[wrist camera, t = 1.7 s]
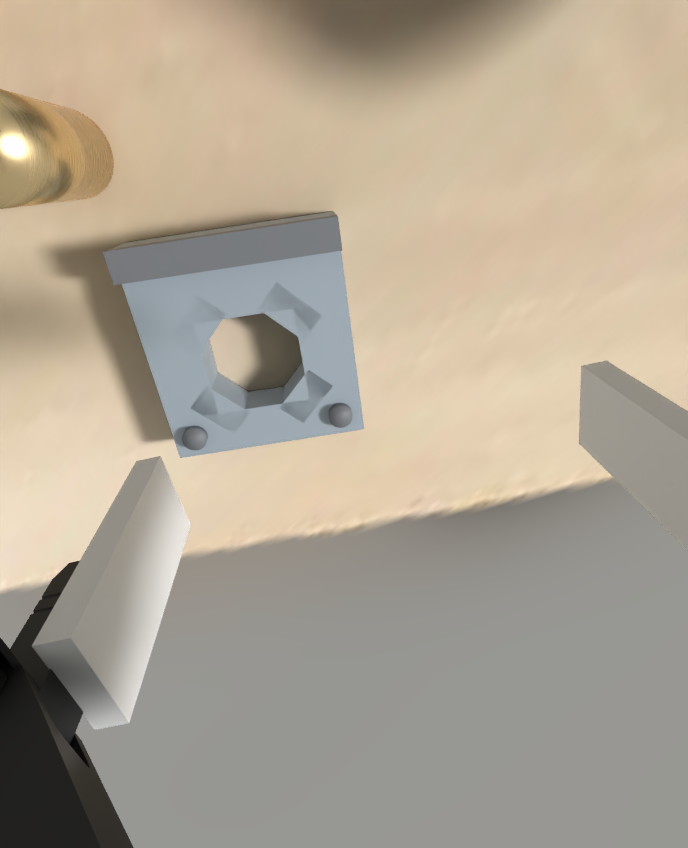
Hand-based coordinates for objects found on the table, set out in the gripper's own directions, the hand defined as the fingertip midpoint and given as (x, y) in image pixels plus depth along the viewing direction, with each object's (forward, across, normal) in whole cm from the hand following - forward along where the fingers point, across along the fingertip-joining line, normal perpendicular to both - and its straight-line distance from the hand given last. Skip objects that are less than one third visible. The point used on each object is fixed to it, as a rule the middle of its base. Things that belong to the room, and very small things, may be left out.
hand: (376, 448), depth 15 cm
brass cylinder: (+20, -13, +11) cm, 27 cm away
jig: (+20, -6, -1) cm, 21 cm away
